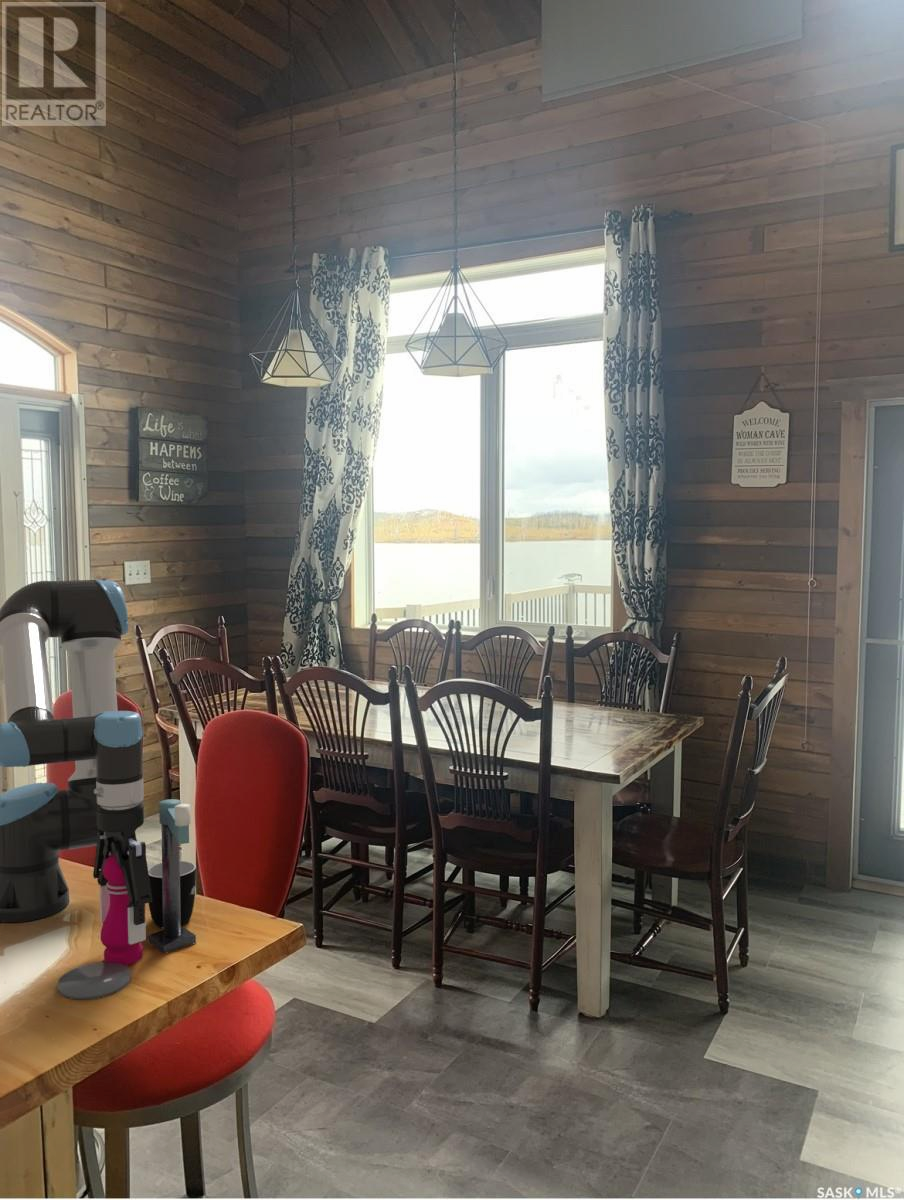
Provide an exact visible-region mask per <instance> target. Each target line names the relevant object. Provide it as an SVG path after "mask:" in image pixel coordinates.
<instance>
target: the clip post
mask: <svg viewBox="0 0 904 1200" xmlns="http://www.w3.org/2000/svg"><path fill="white" fill-rule="evenodd" d="M160 826H161V827H160V828H161V863H162V892H163V928H162V930H158V931H155V932H151V933H149V934H148V941H147V942H148V944H149V945H151V944H152V945H151V946H152V947H154V948H155V949H157V950H158V951H160V952H162V953H163V954H164V955H165V954H167V952H168V953H170V951H171V952H173V950H174V951H177V950H180V949H183V948H186V947H188V945H189V946H191V944H192V945H194V944H193V943H195V944H197V936H196V935H197V934H195V933H193V932H192V931H190V930H189V929H187V928H186V927H184V926H183V925H182V926H181V912H180V861H181V860H180V859H181V858H180V857H181V856H180V855H181V854H180V853H181V852H180V844H179V843H178V842H177V840H176V838H175V837H174V835H173V834H172V832H171V830H170V829H169V827H168V825H163V824H160ZM185 946H186V947H185ZM182 947H183V948H182ZM179 948H180V949H179ZM176 949H177V950H176Z"/></svg>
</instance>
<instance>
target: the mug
mask: <svg viewBox="0 0 904 1200" xmlns="http://www.w3.org/2000/svg"><path fill="white" fill-rule="evenodd" d="M148 873H149V880H150V886H151V893H152V902H150V903H148V908H149V913H150V916H151V920H152V922H153V923H154V925H155V926H156V927H158V928H161V927H163V892H162V862H158V863H155V864H153V865H151V866H149V867H148ZM196 887H197V866H196V864H194V863H193V862H190V861H188V860H180V912H181V925H182V926H185V925H186V924H187V923H189V921H190V920H191V918H192V915H193V911H194V905H195V898H196V897H195V896H196Z"/></svg>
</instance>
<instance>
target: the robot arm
mask: <svg viewBox="0 0 904 1200" xmlns="http://www.w3.org/2000/svg"><path fill="white" fill-rule="evenodd" d="M128 619H129V614H128V608H127V603H126V600H125V595H124V592H123V589H122V588H121V586H120V584H118V582H115V581H113V580H99V579H95V578H94V579H84V580H83V579H81V580H80V579H79V580H77V579H75V580H40V581H34V582H32V583H28V584H26V585H24V586H21V588H20V589H18V590H16V591H15V592H14V593H12V594H11V595H10V596H9V597H8V598H7V599H6V600H5V602H3V604H2V606H1V608H0V646H1V649H2V650H1V651H2V668H3V682H4V694H5V696H4V697H5V711H6V722H4V723H0V767H2V768H15V767H18V768H19V767H22V768H25V767H31V766H39V765H47V764H56V763H64V762H67V763H68V762H75V770H74V772H73V774H72V775H71V776H70V777H69V778H68V779H67V789H61V790H60V789H59V788H58V786H57V785H56V784H55V783H53V782H48V781H47V782H36V783H30V784H29V783H28V784H25V785H21V786H17V787H14V788H11V789H9V790H7V791H5V792H3V793H1V794H0V921H5V922H4V923H21V922H28V921H34V920H39V919H43V918H46V917H48V916H51V915H54V914H57V913H58V912H60V911H62V910H64V909H65V908H66V907H67V906H68V905H69V903H70V889H69V886H68V884H67V881H66V878H65V876H64V873H63V870H62V868H61V865H60V861H59V852H60V851H65V850H73V849H74V850H75V849H81V848H88V847H94V846H96V847H95V856H94V865H93V871H92V872H93V873H92V878H94V879H97V884H98V885H99V913H100V914H99V916H100V918H99V920H100V924H101V925H103V923H104V921H105V918H106V916H107V914H108V911H109V906H110V895H109V893H108V892H107V891H106V889H107V886H106V884H107V882H108V880H107V879H106V878H105V877H104V875H103V865H104V863H105V861H106V859H107V858H108V857H109V856H111V855H114V856H116V860H117V864H118V866H119V867H121V868H122V872H123V876H124V880H125V884H126V888H127V892H128V896H129V900H130V903H129V904H127V905H126V906H127V908H128V943H129V944H130V945H131V944H134V943H137V942H140V941H141V942H143V941H146V940H147V931H146V930H147V928H146V924H147V922H146V904H149V903H150V902H152V893H151V886H150V880H149V873H148V868H149V867H148V861H147V845H146V842H145V841H140V842H138V839H137V835H136V831H137V830H138V829H139V828H140V827H142V826H143V825H144V821H145V819H144V818H145V817H144V816H145V812H144V804H143V802H142V801H144V793H145V791H144V775H143V774H144V772H143V737H144V730H143V724H142V721H143V720H142V716H141V714H140V713H138V712H136V711H132V710H118V697H117V693H118V692H117V680H116V678H117V677H116V663H115V650H116V649H117V648H118V646H120V644H121V643H122V636H125V635H126V634H127V633H128V632H129V620H128ZM49 638H60V643H61V644H60V645H61V647H62V648H63V649H64V650H65V651H67V653H68V654H69V659H70V660H69V661H70V662H69V663H70V682H71V700H72V701H71V702H72V717H68V718H55V717H54V708H53V700H52V690H51V683H50V674H49V666H48V659H47V658H48V655H47V648H46V642H47V640H48V639H49ZM54 718H55V719H54ZM126 859H128V860H126ZM141 942H140V943H141Z"/></svg>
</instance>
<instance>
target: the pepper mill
mask: <svg viewBox="0 0 904 1200" xmlns="http://www.w3.org/2000/svg"><path fill="white" fill-rule="evenodd" d="M126 860H128V859H126ZM103 875H104V877H105V878H106V879H107V880H108V882H107V884H106V886H107V889H106V891H107V892H108V893H109V895H110V906H109V911H108V914H107V916H106V918H105V921H104V923H103V924H102V926H101V929H100V936H99V937H100V942H101V943H102V945H103V946H104V947H105V948H104V949H103V961H104V962H113V963H119V964H123V965H125V966H127V967H128V966H130V965H133V964H135V963H137V962H140V961H141V959H143V955H144V952H143V950H144V949H143V944H142V943H141V942H142V941H140V942H137V943H134V944H131V945H130V944H129V943H128V908H127V906H126V905H127V904H129V903H130V900H129V896H128V892H127V888H126V884H125V880H124V876H123V872H122V868H121V867H119V866H118V864H117V860H116V856H114V855H111V856H109V857H108V858H107V859H106V861H105V863H104V865H103Z"/></svg>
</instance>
